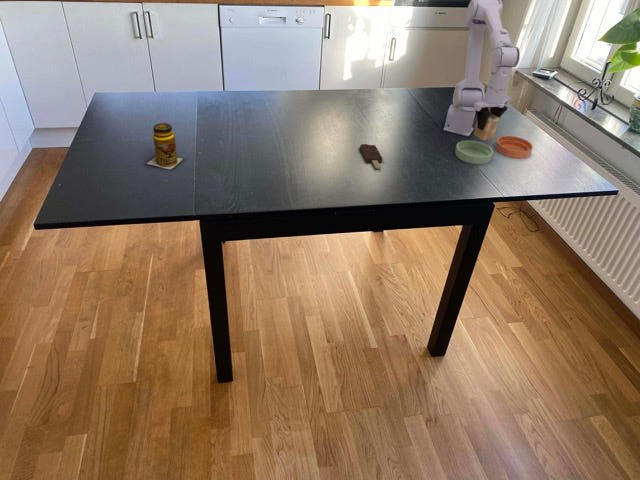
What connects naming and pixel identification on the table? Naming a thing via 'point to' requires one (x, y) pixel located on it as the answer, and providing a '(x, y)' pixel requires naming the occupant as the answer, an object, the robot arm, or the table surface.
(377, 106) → the table surface
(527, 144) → the terracotta bowl
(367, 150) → the ice cream bar
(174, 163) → the condiment
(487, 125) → the box
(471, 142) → the celadon bowl
